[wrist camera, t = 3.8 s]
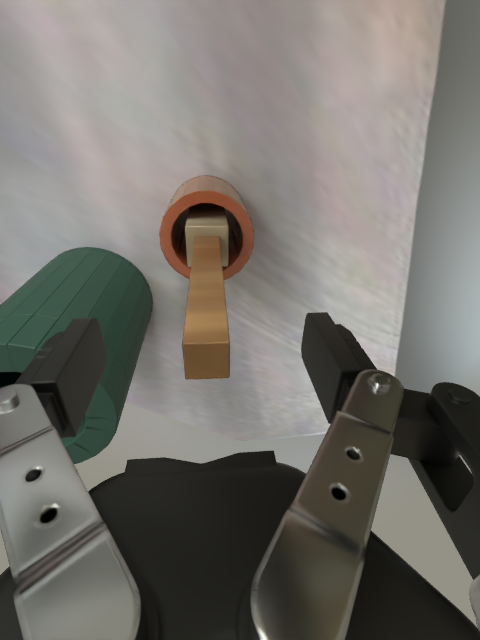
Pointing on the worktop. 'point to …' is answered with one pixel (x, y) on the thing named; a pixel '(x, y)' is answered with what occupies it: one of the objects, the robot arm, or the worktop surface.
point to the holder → (176, 216)
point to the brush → (206, 294)
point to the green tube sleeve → (81, 302)
